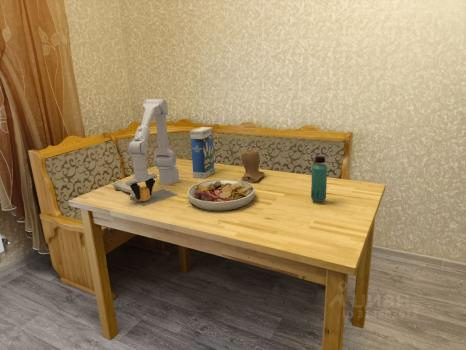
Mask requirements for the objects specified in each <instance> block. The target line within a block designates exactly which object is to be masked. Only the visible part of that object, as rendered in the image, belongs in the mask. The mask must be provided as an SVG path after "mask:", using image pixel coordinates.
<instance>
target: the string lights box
mask: <svg viewBox="0 0 466 350" xmlns="http://www.w3.org/2000/svg"><path fill="white" fill-rule="evenodd" d="M189 133H190V134H189V135H190V146H191V147H190V148H191V162H192V163H191V164H192V175H193V176H192V177H193V178H195V179H206V178H207V177H209V176H210V175H212V174H214V173H215V154H214V137H213V127H211V126H210V127H209V126H208V127H207V126H200V127H197V128H194V129H192V130H189Z"/></svg>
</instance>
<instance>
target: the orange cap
mask: <svg viewBox="0 0 466 350" xmlns="http://www.w3.org/2000/svg"><path fill="white" fill-rule="evenodd" d="M149 199H150V192H149V187H146V186H140V200H139V201H147V200H149Z"/></svg>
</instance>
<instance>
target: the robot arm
mask: <svg viewBox="0 0 466 350" xmlns="http://www.w3.org/2000/svg"><path fill="white" fill-rule="evenodd" d="M142 109H143V115H142V121H141V124H140V125H139V126H138V127H137V128H136V130H135V131H136V132H135V133H134V137H133V139H132V140H131V141H130V142H129V143H128V148H127V151H128V153H129V155H130V158H131V159H132V166H133V175H134V177H133V178H131V179H128V180H126V181H125V184H126V186H130V187H131V189H132V190H133V192H134V194H135V196H136V199H138V200H140V187H141V185H139V184H140V183H142V182H144V183H145V187H149V192H150V196H151V195H152V192H153V188H154V186H155V183H156V179H158V175H159V183H160V185H161V186H162V185H164V186H167V185H169V186H170V185H172V184H174V183H177V182H180V173H179V169H178V167H177V166H176V165H177V158H176V155H175V152H174V151H173V150H172V149H171V148H169V138H168V137H169V136H168V126H167V125H168V124H167V116H168V115H169V108H168V102H167V100H166V99H165V98H145V99H144V100H143V103H142ZM154 118H155V126H156V127H155V128H156V136H157V137H156V138H157V146H158V150H156V151H155V153H154V159H153V164H154V165H155V167H157V170H158V174H157V173H154V172H153V173H150V174H149V172H148V171H149V170H148V165H147V164H148V163H147V156H146V154H147V152H148V150H149V147H148V145H149V142H148V141H149V138H150V134H151V129H150V126H151V125H152V122H153V120H154Z"/></svg>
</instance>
